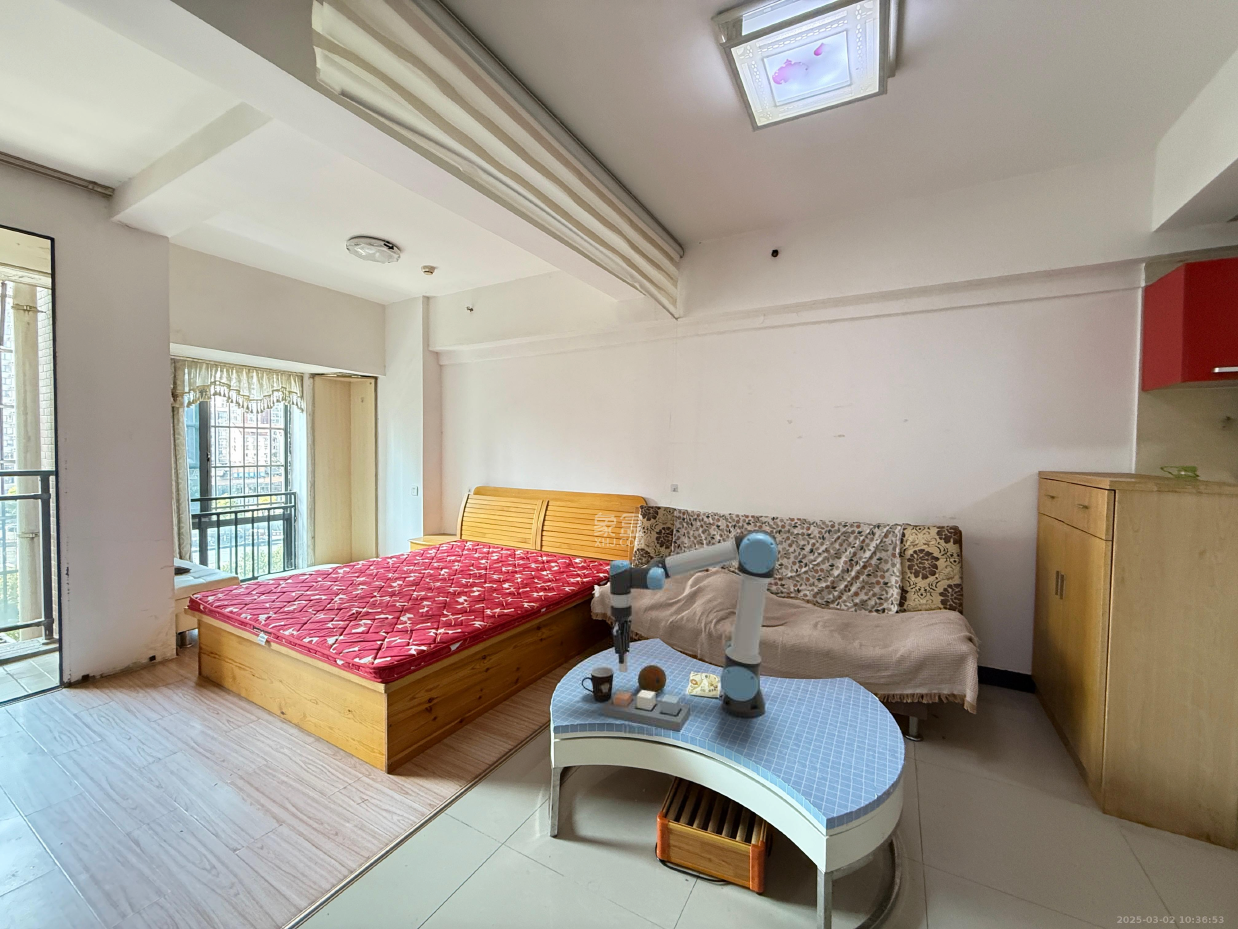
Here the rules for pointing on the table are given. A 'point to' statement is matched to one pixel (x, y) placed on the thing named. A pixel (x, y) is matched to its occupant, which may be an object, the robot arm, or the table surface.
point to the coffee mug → (601, 683)
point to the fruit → (652, 678)
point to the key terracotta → (622, 698)
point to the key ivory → (646, 700)
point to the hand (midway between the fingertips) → (623, 671)
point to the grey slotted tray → (648, 714)
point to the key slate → (671, 704)
